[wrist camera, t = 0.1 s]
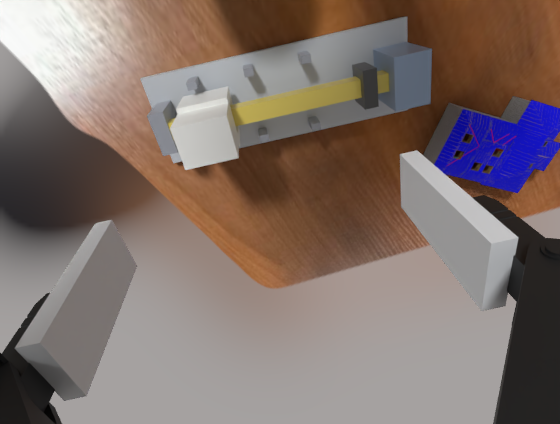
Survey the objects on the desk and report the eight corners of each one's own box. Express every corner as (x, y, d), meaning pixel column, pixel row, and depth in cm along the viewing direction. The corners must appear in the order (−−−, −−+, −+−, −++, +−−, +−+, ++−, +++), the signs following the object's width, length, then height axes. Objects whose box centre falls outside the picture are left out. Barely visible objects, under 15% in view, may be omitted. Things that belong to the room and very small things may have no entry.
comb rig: (174, 160, 44) (164, 186, 38) (142, 77, 38) (124, 92, 32) (405, 108, 43) (431, 125, 37) (404, 16, 38) (434, 19, 32)
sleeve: (197, 140, 41) (187, 175, 33) (183, 96, 38) (167, 122, 30) (240, 130, 40) (240, 163, 32) (228, 86, 38) (224, 109, 30)
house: (509, 183, 50) (536, 201, 46) (417, 161, 47) (436, 178, 43) (558, 107, 45) (594, 119, 41) (459, 76, 42) (486, 86, 37)
